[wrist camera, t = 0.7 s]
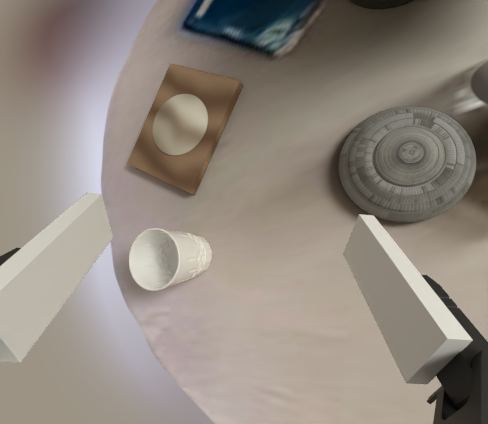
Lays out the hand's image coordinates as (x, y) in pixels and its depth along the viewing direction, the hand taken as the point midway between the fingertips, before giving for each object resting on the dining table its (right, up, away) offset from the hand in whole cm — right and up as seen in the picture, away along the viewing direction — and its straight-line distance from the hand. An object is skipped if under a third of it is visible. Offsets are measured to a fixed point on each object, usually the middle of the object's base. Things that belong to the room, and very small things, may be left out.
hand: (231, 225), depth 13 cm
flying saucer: (+21, +7, +20) cm, 30 cm away
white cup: (-8, -6, +28) cm, 29 cm away
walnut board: (-10, +16, +31) cm, 36 cm away
